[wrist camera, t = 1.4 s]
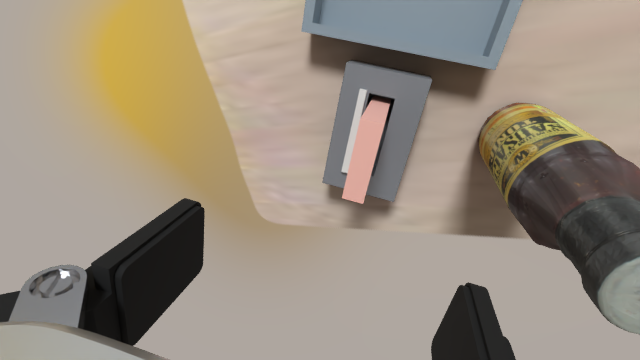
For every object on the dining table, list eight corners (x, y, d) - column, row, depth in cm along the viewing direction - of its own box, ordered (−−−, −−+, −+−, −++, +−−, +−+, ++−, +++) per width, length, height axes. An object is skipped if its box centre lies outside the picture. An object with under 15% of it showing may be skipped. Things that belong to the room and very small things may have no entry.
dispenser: (430, 76, 28) (433, 81, 25) (395, 187, 33) (394, 204, 30) (351, 59, 29) (344, 62, 26) (329, 169, 34) (320, 183, 31)
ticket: (391, 99, 29) (384, 124, 21) (375, 159, 32) (363, 204, 23) (374, 95, 30) (360, 118, 21) (359, 155, 32) (341, 198, 23)
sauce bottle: (513, 85, 27) (715, 166, 9) (571, 128, 27) (876, 288, 10) (457, 144, 30) (530, 291, 12) (509, 183, 30) (656, 382, 13)
